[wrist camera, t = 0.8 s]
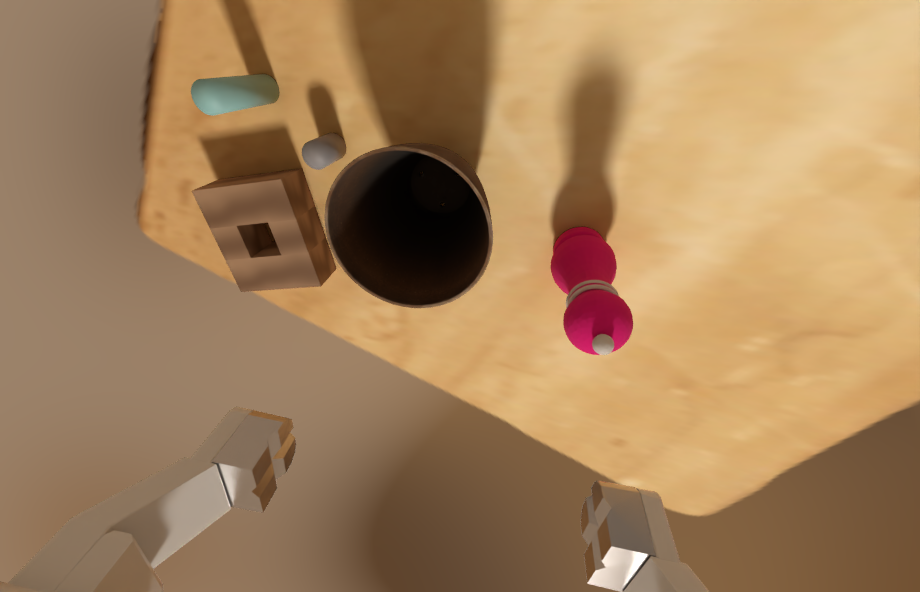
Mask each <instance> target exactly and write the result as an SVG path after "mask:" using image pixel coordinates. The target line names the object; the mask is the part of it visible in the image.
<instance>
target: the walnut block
mask: <svg viewBox="0 0 920 592" xmlns="http://www.w3.org/2000/svg"><path fill="white" fill-rule="evenodd" d="M192 193H193V195H194V197H195V199H196V201H197V203H198V205H199V207H200V209H201V211H202V213H203V215H204V217H205V219H206V221H207V223H208V225H209V227H210V229H211V232H212V234H213V236H214V238H215V240H216V242H217V244H218V246H219V248H220V250H221V252H222V254H223V256H224V258H225V260H226V262H227V264H228V266H229V268H230V270H231V272H232V274H233V276H234V278H235V280H236V282H237V285H238V287H239V288H240V291H241V292H246V291H261V290H275V289H290V288H304V287H319V286H322V285H323V283H324V282H325V281H326V280H327V279H328V278H329V277H330V275H331V274H332V273H333V272H334V271H335V270H336V266H335V263H334V261H333V258H332V255H331V252H330V249H329V246H328V243H327V240H326V237H325V234H324V231H323V228H322V226H321V223H320V220H319V217H318V214H317V211H316V208H315V205H314V202H313V199H312V196H311V193H310V190H309V188H308V185H307V182H306V179H305V176H304V173H303V170H302V168H301V169H294V170H286V171H279V172H271V173H264V174H257V175H249V176H242V177H234V178H227V179H220V180H217V181H214V182H212V183H209V184H207V185H205V186H202V187H200V188H197V189H195V190H193V191H192ZM264 223H268V224H269V226H270V229H271V231H272V234H273V236H274V239H275V241H276V242H272V241H271V239H270V237H269V234H268V232H267V229H266V227H265V225H264Z"/></svg>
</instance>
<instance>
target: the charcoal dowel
mask: <svg viewBox="0 0 920 592" xmlns="http://www.w3.org/2000/svg"><path fill="white" fill-rule="evenodd" d="M345 153H346V144H345V142H344V140H343V139H342V137H341V136H339V135H338V134H336V133H328V134H326V135H323V136H321V137H318V138H316V139H314V140H311V141H309V142H307V143H305V144H304V146H303V148H302V156H303V159H304V161H305V162H306V164H307V165H308V166H310V167H311V168H313V169H318V170H319V169H323V168H325V167H326V166H328V165H330V164H332V163H333V162H335V161H337V160H339V159H340V158H342V157H343V156H344V155H345Z"/></svg>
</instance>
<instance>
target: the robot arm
mask: <svg viewBox="0 0 920 592" xmlns="http://www.w3.org/2000/svg"><path fill="white" fill-rule="evenodd" d="M292 429H293V422H292V419H290V418H286V417H281V416H276V415H272V414H267V413H263V412H258V411H255V410H250V409H245V408H240V407H235V408H233V409H232V410H230V411H229V412H228V413H227V414H226V416H225V417H224V418H223V419H222V420H221V422H220V423H219V424H218V425H217V427H216V428H215V429H214V430H213V431H212V432H211V434H210V435H209V436H208V437H207V439H206V440H205V441H204V442H203V443H202V445H201V446H200V447H199V448H198V450H197V451H196V452H195V453H194V454H193V456H192V457H191V458H186V457H184V458H182V459H181V460H179V461H177V462H175V463H173V464H171V465H169V466H167V467H166V468H164V469H162V470H160V471H158V472H156V473H154V474H153V475H151V476H149V477H147V478H145V479H143V480H141V481H139V482H138V483H136V484H134V485H132V486H130V487H128V488H127V489H125V490H123V491H121V492H119V493H117V494H115V495H113V496H111V497H110V498H108V499H106V500H104V501H102V502H100V503H99V504H97V505H95V506H93V507H91V508H89V509H87V510H85V511H83V512H82V513H80V514H78V515H76V516H74V517H72V518H71V519H70V520H69V521H68V522H67V523H66V524H65V525H64V526H63V527H62V528H61V529H60V530H59V531H58V532H57V533H56V534H55V535H54V537H52V538H51V539H50V540H49V541H48V542H47V543H46V545H44V546H43V547H42V548H41V550H40V551H39V552H38V553H37V554H36V555H35V556H34V557H33V558H32V559H31V560H30V561H29V562H28V563H27V564H26V565H25V566H24V567H23V568H22V569H21V570H20V571H19V572H18V573H17V574H16V575H15V576H14V577H13V578H12V579H11V580H10V581H9V583H5V582H1V581H0V592H163V584H162V582H161V581H160V579H159V577H158V576H157V574H156V573H155V571H154V570H153V569H154V568H155V567H156V566H158V565H159V564H160V563H162V562H163V561H164V560H166V559H167V558H168V557H169V556H171V555H172V554H173V553H175V552H176V551H177V550H178V549H180V548H181V547H182V546H184V545H185V544H186V543H187V542H189V541H190V540H191V539H193V538H194V537H195V536H196V535H198V534H199V533H200V532H202V531H203V530H204V529H205V528H207V527H208V526H210V525H211V524H212V523H213V522H215V521H216V520H217V519H219V518H220V517H221V516H222V515H224V514H225V513H226V512H228V511H229V510H230V509H231V507H235V508H240V509H246V510H251V511H256V512H262V513H263V512H264V510H265V509H266V507H267V505H268V504H269V502H270V500H271V498H272V497H273V495H274V493H275V491H276V489H277V484H276V479H277V478H279V477H281V476H282V475H284V474H285V473H286V472H287V470H288V468H289V466H290V465H291V463H292V460H293V457H294V454H295V449H296V440H295V437H294V436H293V435H292V434H291V433H290V432H291V430H292ZM591 490H592V495H591V496H589V497H587V498H586V499H585V501H584V504H583V507H582V512H581V532H582V537H583V538H584V539H585V541H586V542H587V544H588V545H589V546H588V548H587V550H586V551H585V553H584V558H585V568H586V576H587V583H588V584H592V585H596V586H600V587H604V588H608V589H612V590H616V591H620V592H709V591H708V589H707V588H706V587H705V586H704V585H703V583H702V582H701V581H700V580H699V578H698V577H697V576H696V575H695V573H694V572H693V571H692V570H691V569H690V567H689V566H688V565H687V564H685V563H681V562H680V559H679V556H678V553H677V550H676V546H675V543H674V539H673V536H672V533H671V530H670V526H669V523H668V520H667V517H666V513H665V510H664V507H663V503H662V500H661V497H660V496H659V494H658V493H656V492H653V491H648V490H642V489H637V488H635V487H630V486H625V485H619V484H614V483H609V482H603V481H596V482H594V484H593V486H592V487H591Z"/></svg>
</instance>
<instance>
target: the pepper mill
mask: <svg viewBox="0 0 920 592" xmlns="http://www.w3.org/2000/svg"><path fill="white" fill-rule="evenodd" d="M616 268H617V267H616V259H615V255H614V252H613V250H612V249H611V247H610V246H609V245H608V244H607V243H606V242H605V241H604V240H603V238H602V236H601V235H600V234H599V233H598V232H597V231H595V230H593V229H590V228H587V227H576V228H572V229H569V230H567V231H565V232H564V233H563V234H561V235H560V236H559V238H558V239H557V240H556V243H555V245H554V249H553V257H552V260H551V272H552V276H553V278H554V281H555V283H556V284H557V285H558V286H559V288H560V289H561V290H562V291H563V292H565V293H566V294H568V296H567V299H566V307H567V309H566V311H565V313H564V329H565V332H566V335H567V337H568V338H569V340H570V341H571V343H572V344H573V345H574V346H575V347H577V348H578V349H580V350H581V351H583V352H586V353H589V354H594V355H607V354H609V353H611V352H613V351H616V350H618V349H619V348H621V347H622V346H623V345H624V344H625V343H626V342H627V340H628V339H629V337H630V335H631V333H632V329H633V319H632V314H631V311H630V309H629V307H628V306H627V304H626V303H625V301H624V300H623V299H621V298H620V297H619V295H618V293H617V291H616V289H615V288H614V287H613V286H612V285H611V284H612V282H613V280H614V278H615V274H616Z"/></svg>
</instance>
